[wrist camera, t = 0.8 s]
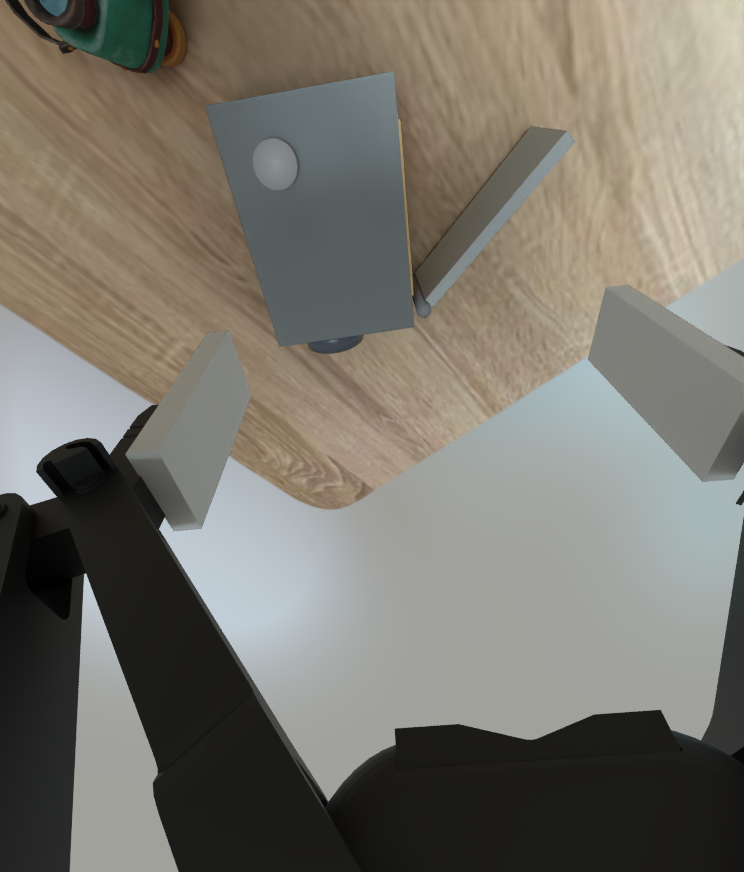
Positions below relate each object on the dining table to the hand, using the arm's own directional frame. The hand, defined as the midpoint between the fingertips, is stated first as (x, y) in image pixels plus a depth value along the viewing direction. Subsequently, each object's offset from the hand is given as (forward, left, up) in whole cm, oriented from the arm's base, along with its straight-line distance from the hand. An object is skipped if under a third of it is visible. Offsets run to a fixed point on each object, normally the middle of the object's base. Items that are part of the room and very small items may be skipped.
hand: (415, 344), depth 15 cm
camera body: (-1, -4, -21) cm, 22 cm away
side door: (+1, +6, -21) cm, 22 cm away
